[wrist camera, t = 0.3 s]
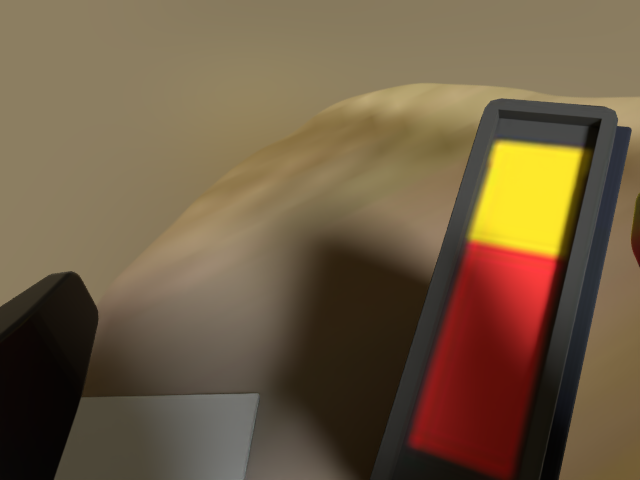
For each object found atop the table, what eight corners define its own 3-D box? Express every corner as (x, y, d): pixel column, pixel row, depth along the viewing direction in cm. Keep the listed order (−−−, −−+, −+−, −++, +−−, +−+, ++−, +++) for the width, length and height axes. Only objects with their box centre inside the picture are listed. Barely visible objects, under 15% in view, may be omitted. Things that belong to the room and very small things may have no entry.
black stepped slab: (591, 303, 26) (639, 97, 13) (524, 619, 22) (501, 754, 9) (507, 285, 28) (478, 85, 15) (430, 575, 24) (302, 640, 11)
